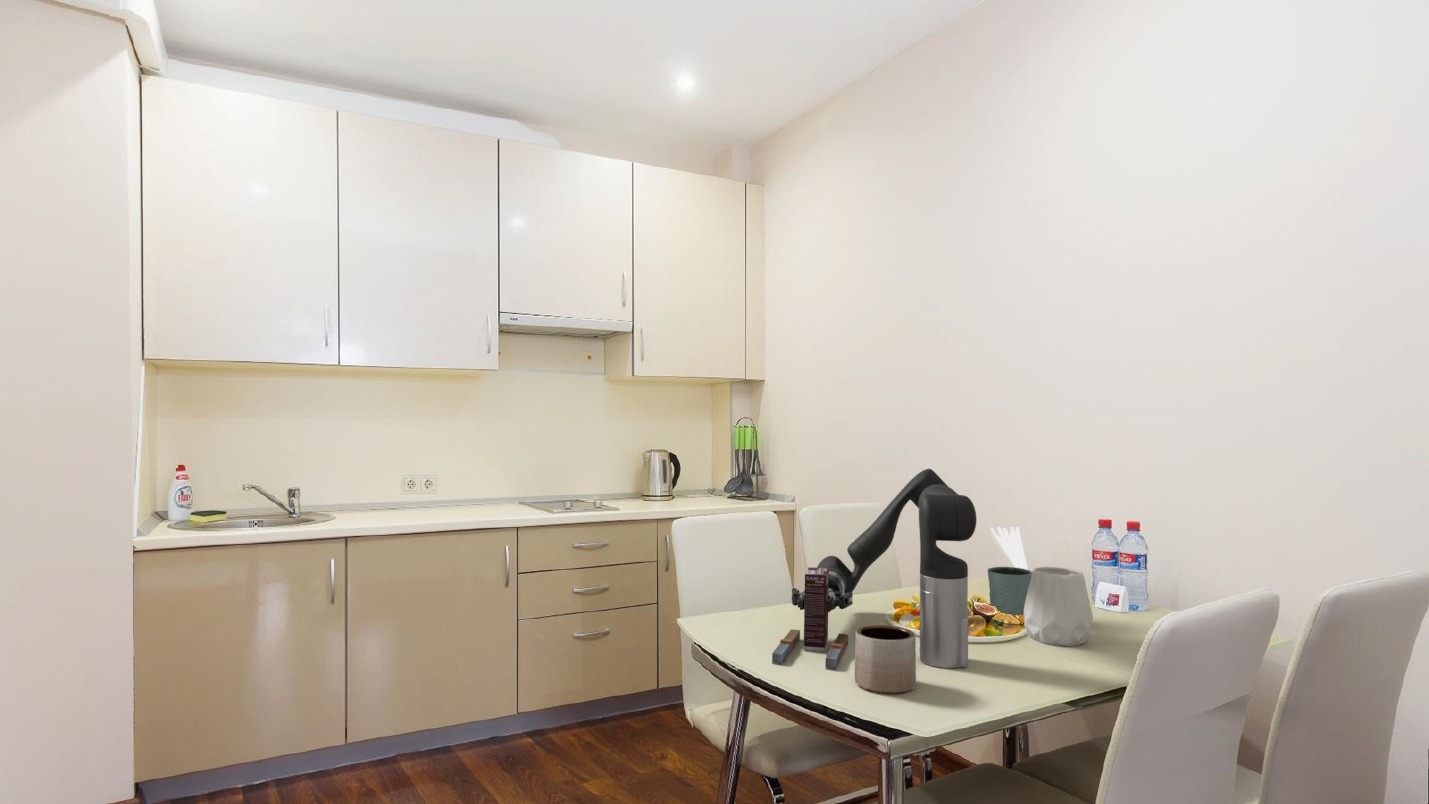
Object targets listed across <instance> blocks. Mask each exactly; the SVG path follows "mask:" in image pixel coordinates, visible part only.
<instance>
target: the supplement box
mask: <svg viewBox="0 0 1429 804" xmlns="http://www.w3.org/2000/svg"><path fill="white" fill-rule="evenodd" d="M828 585H829V569H828V568H817V567H807V571H806V573H805V574H804V590H805V596H804V610H803V611H804V612H803V613H804V615H803V616H804V617H803V619H804V620H803V651H807V652H821V653H822V652H823V653H825V652H826V649H827V645H828V642H829V612H827V600H828Z"/></svg>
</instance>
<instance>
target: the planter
mask: <svg viewBox="0 0 1429 804" xmlns="http://www.w3.org/2000/svg"><path fill="white" fill-rule="evenodd" d="M916 638H917V636H916V633H915V632H914V631H912V630H910V629H908V628H904V627H901V626H897V625H889V624H888V625H886V624H874V625H873V624H870V625H865V626H860V627H858V628H856V629H855V638H854V639H855V642H854V643H855V645H854V646H855V647H854V648H855V651H854V653H855V654H854V682H855V683H856V684H857V685H858V687H860V688H861V687H862V689H863V690H865V689H866V690H865V691H868V692H871V693H875V692H876V694H880V693H881V694H883V695H901V694H905V693H908V692H910V691H911V690H913V689H914V688H916V685H917V671H916V670H917V665H916V664H917V659H916V658H917V657H916V655H917V654H916V651H917V650H916V648H917V647H916Z"/></svg>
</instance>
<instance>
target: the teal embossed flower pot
mask: <svg viewBox="0 0 1429 804" xmlns="http://www.w3.org/2000/svg"><path fill="white" fill-rule="evenodd" d="M1032 572H1033V571H1031V570H1028V569H1025V568H1022V567H1021V568H1020V567H1011V566H993V567H989V568H987V577H988V578H987V579H988V587H989V603H990V605H992V606H995V607H996V608H997V610H998V611H1000V612H1001V613H1005V614H1011V615H1023V614H1024V605H1025V601H1026V596H1027V592H1028V588H1029V584H1030V580H1031V575H1032Z"/></svg>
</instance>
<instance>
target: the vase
mask: <svg viewBox="0 0 1429 804" xmlns="http://www.w3.org/2000/svg"><path fill="white" fill-rule="evenodd" d="M1031 572H1032V575H1031V580H1030V584H1029V588H1028V592H1027V596H1026V601H1025V605H1024V624H1023V625H1024V629H1025V631H1026V633H1027V635H1028V636H1029V637H1030V638H1032V639H1033V640H1036V641H1037V642H1039V643H1042V644H1045V645H1051V644H1055V645H1054V646H1059V645H1062V646H1061V647H1073V646H1072V645H1077V646H1082V645H1083V644H1085V643H1086V642H1087V640H1088V639H1089V638H1090V635H1091V629H1092V622H1093V619H1094V617H1093V616H1094V615H1093V610H1092V606H1091V602H1090V598H1089V593H1088V590H1087V585H1086V580H1085V575H1084V573H1083V572H1081V571H1080V570H1078V569H1074V568H1067V567H1066V568H1065V567H1057V566H1040V567H1035V568H1034V569H1033V570H1032V571H1031ZM1081 644H1082V645H1081Z"/></svg>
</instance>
